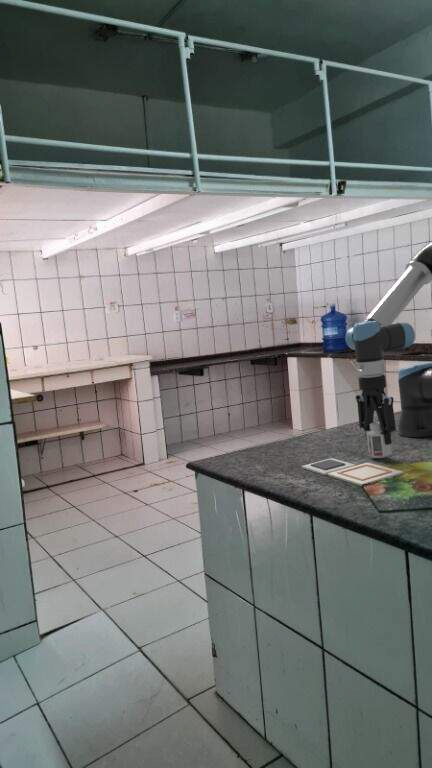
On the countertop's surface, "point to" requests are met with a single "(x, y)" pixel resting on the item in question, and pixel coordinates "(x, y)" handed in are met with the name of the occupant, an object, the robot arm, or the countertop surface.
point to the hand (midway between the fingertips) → (379, 453)
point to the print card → (364, 473)
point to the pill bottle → (375, 440)
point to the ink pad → (327, 466)
